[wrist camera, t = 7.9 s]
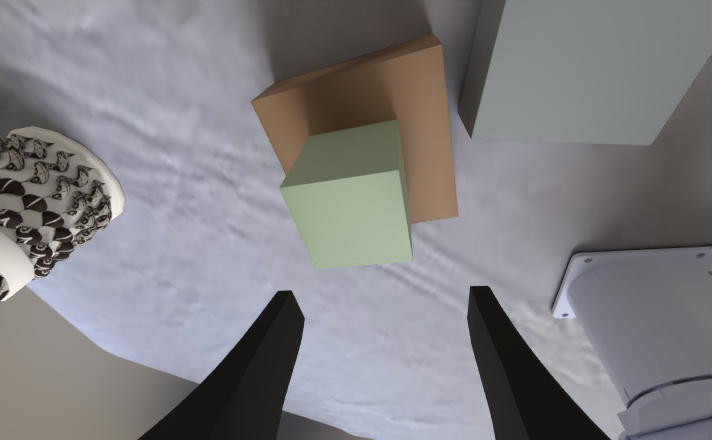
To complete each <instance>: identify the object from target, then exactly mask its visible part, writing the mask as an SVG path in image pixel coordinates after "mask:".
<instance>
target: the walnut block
mask: <svg viewBox="0 0 712 440" xmlns="http://www.w3.org/2000/svg"><path fill="white" fill-rule="evenodd" d="M251 103H252V105H253V107H254V110H255V112H256V114H257V116H258V118H259V120H260V122H261V124H262V126H263V128H264V130H265V132H266V134H267V136H268V138H269V141H270V143H271V145H272V147H273V149H274V151H275V153H276V155H277V157H278V159H279V161H280V163H281V165H282V167H283V169H284V172H285V174H286V176H287V174H288V172H289V170H290V169H291V167H292V165H293V164H294V162H295V160H296V158H297V157H298V155H299V153H300V152H301V150H302V148H303V146H304V145H305V143H306V141H307V140H308V138H309V136H313V135H318V134H323V133H328V132H334V131H339V130H344V129H350V128H355V127H360V126H365V125H371V124H376V123H381V122H386V121H392V120H397V119H398V126H399V133H400V140H401V147H402V154H403V161H404V168H405V175H406V182H407V189H408V196H409V209H410V224H412V223H419V222H425V221H432V220H438V219H445V218H451V217H458V216H459V215H458V205H457V195H456V184H455V174H454V164H453V153H452V143H451V133H450V122H449V112H448V102H447V91H446V81H445V71H444V60H443V50H442V44H441V42H440V41H439V40H438V39H437V38H436V37H435V35H434V34H430V35H427V36H423V37H420V38H417V39H414V40H411V41H407V42H404V43H401V44H398V45H395V46H391V47H388V48H385V49H382V50H378V51H375V52H372V53H369V54H366V55H362V56H359V57H356V58H353V59H350V60H346V61H343V62H340V63H337V64H334V65H330V66H327V67H324V68H321V69H318V70H314V71H311V72H308V73H305V74H301V75H298V76H295V77H292V78H289V79H285V80H282V81H279V82H276V83H274V84H273V85H271V86H270V87H269V88H267V89H266V90H265V91H264V92H262V93H261V94H260V95H258V96H257V97H256V98H255V99H253V100H252V101H251Z"/></svg>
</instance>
